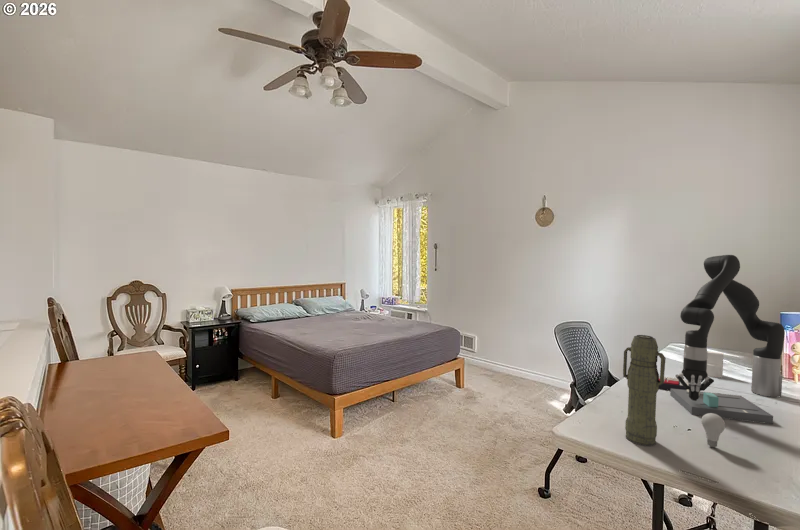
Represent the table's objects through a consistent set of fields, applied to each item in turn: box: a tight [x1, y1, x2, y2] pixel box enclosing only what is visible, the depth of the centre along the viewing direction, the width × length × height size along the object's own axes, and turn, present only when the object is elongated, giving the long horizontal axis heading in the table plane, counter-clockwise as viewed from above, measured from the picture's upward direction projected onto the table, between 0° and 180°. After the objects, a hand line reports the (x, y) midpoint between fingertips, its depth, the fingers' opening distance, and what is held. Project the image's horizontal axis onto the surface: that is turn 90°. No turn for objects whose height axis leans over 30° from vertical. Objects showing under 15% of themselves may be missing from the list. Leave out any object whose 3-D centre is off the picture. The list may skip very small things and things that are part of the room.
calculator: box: [658, 375, 688, 391], centre depth 184 cm, size 11×4×15 cm
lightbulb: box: [700, 413, 726, 449], centre depth 127 cm, size 6×6×11 cm
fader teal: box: [703, 391, 719, 408], centre depth 155 cm, size 3×5×4 cm, turn 163°
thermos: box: [622, 334, 666, 447], centre depth 130 cm, size 9×12×35 cm
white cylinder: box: [706, 350, 724, 378], centre depth 206 cm, size 9×9×12 cm
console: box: [669, 389, 774, 424], centre depth 160 cm, size 26×22×3 cm
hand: (693, 399), depth 157 cm, fingers closed
